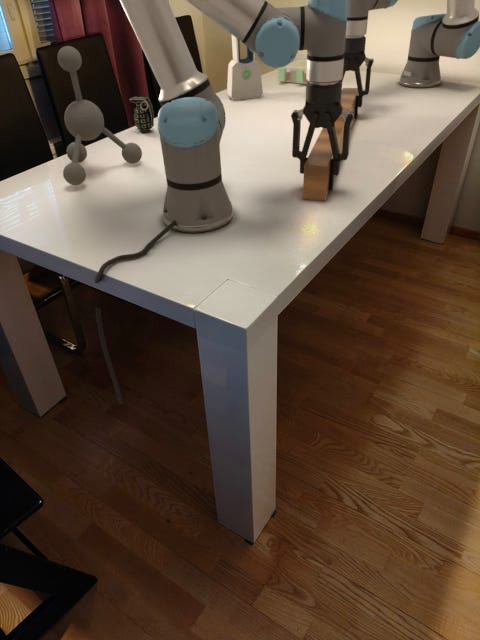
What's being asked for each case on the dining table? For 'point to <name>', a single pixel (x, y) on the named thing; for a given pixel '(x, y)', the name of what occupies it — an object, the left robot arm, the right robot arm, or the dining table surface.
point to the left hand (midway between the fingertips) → (318, 187)
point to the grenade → (143, 114)
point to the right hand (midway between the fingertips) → (346, 117)
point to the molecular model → (85, 123)
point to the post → (326, 153)
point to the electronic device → (243, 74)
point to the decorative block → (294, 72)
